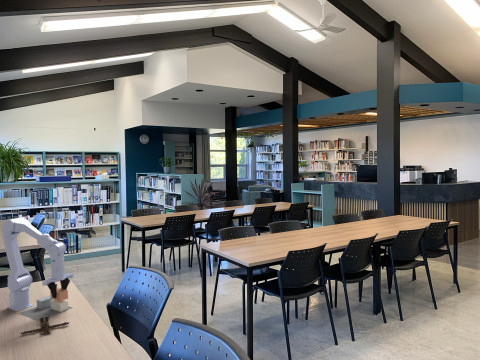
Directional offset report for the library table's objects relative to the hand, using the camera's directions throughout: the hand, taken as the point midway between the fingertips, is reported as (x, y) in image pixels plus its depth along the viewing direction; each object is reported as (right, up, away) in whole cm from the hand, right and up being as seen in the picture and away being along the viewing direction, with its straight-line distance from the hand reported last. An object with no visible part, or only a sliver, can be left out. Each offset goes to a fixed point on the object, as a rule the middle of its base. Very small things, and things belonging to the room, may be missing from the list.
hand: (59, 296), depth 174 cm
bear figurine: (+4, -8, -20) cm, 22 cm away
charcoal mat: (-6, -7, -1) cm, 9 cm away
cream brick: (0, -6, 0) cm, 6 cm away
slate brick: (-8, -6, +4) cm, 11 cm away
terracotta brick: (0, -1, 0) cm, 1 cm away
